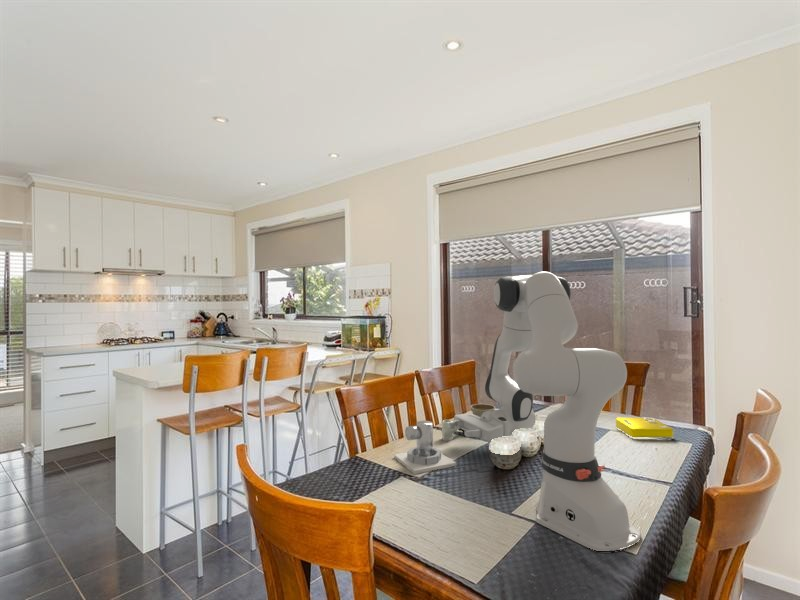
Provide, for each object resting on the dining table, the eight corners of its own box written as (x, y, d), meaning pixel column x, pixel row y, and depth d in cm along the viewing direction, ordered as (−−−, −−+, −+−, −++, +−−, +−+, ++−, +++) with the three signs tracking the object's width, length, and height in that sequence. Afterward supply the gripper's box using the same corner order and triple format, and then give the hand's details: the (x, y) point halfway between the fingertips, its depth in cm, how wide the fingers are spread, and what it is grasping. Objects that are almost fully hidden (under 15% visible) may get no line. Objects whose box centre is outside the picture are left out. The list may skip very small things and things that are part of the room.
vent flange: (455, 465, 131) (455, 455, 131) (414, 474, 125) (414, 463, 125) (432, 450, 143) (432, 441, 143) (394, 457, 137) (394, 448, 137)
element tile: (613, 428, 169) (613, 415, 169) (653, 428, 169) (653, 416, 169) (632, 441, 155) (632, 427, 154) (675, 441, 154) (675, 428, 154)
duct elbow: (435, 459, 133) (435, 424, 133) (411, 464, 129) (411, 427, 129) (427, 454, 137) (427, 419, 137) (404, 458, 134) (404, 423, 134)
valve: (450, 443, 151) (472, 435, 160) (450, 424, 151) (472, 417, 159) (436, 438, 156) (458, 431, 164) (436, 420, 156) (458, 414, 164)
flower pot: (468, 431, 164) (468, 409, 163) (472, 424, 173) (472, 403, 172) (494, 434, 161) (494, 410, 161) (496, 426, 170) (496, 404, 170)
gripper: (474, 407, 154) (440, 412, 148) (512, 422, 136) (475, 428, 130) (474, 425, 154) (440, 430, 148) (512, 442, 136) (475, 449, 130)
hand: (457, 429), depth 139 cm, fingers open, 8 cm apart
